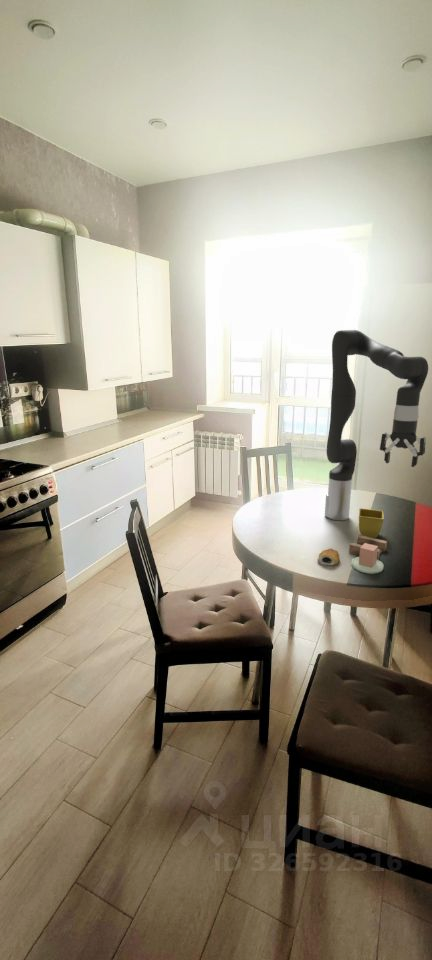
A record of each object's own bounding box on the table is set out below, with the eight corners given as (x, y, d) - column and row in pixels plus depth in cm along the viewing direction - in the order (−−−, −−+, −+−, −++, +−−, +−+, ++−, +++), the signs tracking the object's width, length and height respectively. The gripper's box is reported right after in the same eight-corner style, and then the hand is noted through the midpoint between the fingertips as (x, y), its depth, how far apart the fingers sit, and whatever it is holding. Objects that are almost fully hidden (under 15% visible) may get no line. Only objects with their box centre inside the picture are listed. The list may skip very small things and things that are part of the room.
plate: (347, 567, 145) (347, 565, 145) (357, 556, 153) (357, 553, 153) (377, 576, 140) (378, 574, 139) (387, 564, 147) (387, 561, 147)
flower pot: (381, 532, 172) (383, 510, 170) (381, 541, 164) (383, 518, 162) (357, 529, 175) (359, 508, 172) (356, 538, 167) (358, 516, 165)
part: (358, 564, 146) (360, 547, 144) (363, 559, 149) (364, 542, 147) (372, 567, 143) (373, 551, 141) (376, 562, 146) (378, 546, 145)
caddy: (348, 552, 156) (349, 544, 155) (358, 542, 163) (359, 534, 162) (377, 560, 150) (378, 551, 149) (386, 549, 158) (387, 541, 157)
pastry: (323, 552, 157) (324, 542, 156) (342, 556, 154) (343, 546, 153) (316, 564, 149) (317, 553, 148) (336, 568, 146) (337, 557, 145)
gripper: (380, 417, 150) (376, 464, 155) (425, 421, 142) (419, 470, 146) (387, 415, 155) (382, 459, 160) (430, 418, 147) (424, 465, 152)
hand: (400, 464), depth 153 cm, fingers open, 8 cm apart
